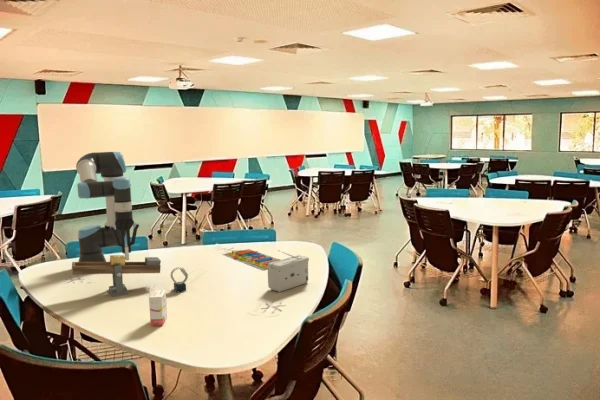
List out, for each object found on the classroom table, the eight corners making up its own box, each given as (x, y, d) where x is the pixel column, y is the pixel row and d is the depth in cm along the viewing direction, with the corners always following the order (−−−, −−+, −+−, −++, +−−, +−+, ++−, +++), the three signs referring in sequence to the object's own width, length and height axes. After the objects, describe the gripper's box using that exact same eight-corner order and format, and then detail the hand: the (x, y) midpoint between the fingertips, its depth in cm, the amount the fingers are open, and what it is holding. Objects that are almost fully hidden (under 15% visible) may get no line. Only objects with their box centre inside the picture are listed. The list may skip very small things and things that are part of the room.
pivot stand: (108, 288, 223) (106, 260, 221) (124, 286, 226) (122, 258, 224) (112, 297, 211) (110, 267, 209) (128, 294, 215) (126, 265, 213)
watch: (190, 289, 219) (189, 267, 218) (173, 293, 215) (171, 270, 214) (187, 286, 224) (185, 264, 223) (170, 289, 220) (169, 267, 219)
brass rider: (109, 265, 218) (110, 255, 218) (122, 265, 221) (123, 255, 221) (110, 268, 213) (111, 257, 213) (124, 268, 216) (125, 257, 216)
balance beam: (71, 269, 212) (72, 256, 211) (156, 268, 231) (157, 256, 230) (72, 274, 204) (73, 261, 204) (160, 273, 223) (161, 260, 222)
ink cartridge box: (163, 326, 178) (161, 289, 176) (150, 326, 178) (147, 290, 176) (167, 317, 187) (165, 282, 185) (155, 318, 186) (153, 282, 184)
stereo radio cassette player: (299, 279, 232) (298, 240, 229) (310, 283, 226) (310, 243, 224) (267, 289, 218) (266, 248, 215) (279, 293, 212) (277, 251, 209)
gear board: (221, 251, 283) (248, 246, 295) (222, 255, 284) (248, 250, 295) (262, 266, 248) (291, 260, 260) (263, 271, 249) (291, 264, 260)
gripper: (109, 213, 209) (113, 263, 213) (139, 210, 215) (142, 259, 219) (107, 211, 216) (111, 259, 219) (136, 208, 222) (139, 256, 225)
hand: (127, 259), depth 219 cm, fingers closed
